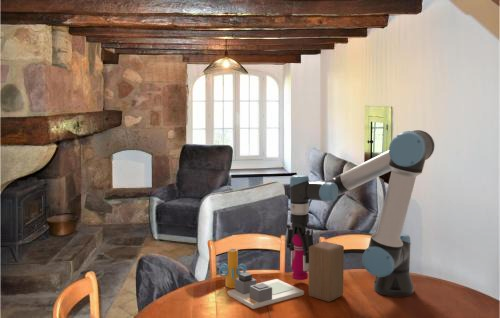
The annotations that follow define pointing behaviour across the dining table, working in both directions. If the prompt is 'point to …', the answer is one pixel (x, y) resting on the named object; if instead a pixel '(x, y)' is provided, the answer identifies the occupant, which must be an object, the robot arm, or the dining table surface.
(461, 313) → the dining table surface
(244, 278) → the block
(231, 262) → the yellow post with loops
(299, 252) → the pepper mill
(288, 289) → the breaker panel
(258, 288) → the block
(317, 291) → the wooden block
